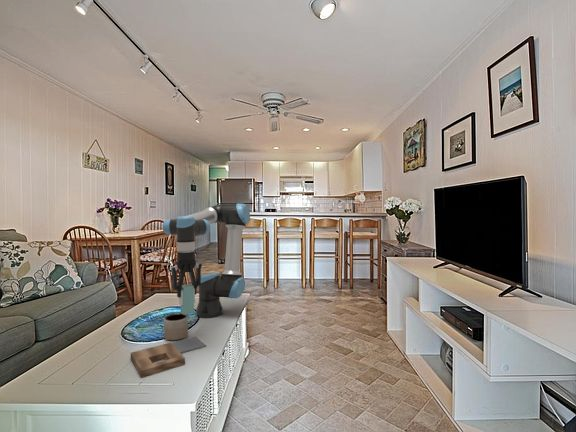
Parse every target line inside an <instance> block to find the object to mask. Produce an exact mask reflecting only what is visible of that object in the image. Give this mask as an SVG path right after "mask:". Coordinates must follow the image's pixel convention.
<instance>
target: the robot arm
mask: <svg viewBox="0 0 576 432" xmlns="http://www.w3.org/2000/svg"><path fill="white" fill-rule="evenodd" d="M250 221H251V213H250V209H249V207H248V206H247V204H245V203H239V202H237V203H220V204H219V203H218V204H214V205H211V206H208V207H206V208H204V209H203V210H202V211H198V212H195V213H192V214H188V215H182V216H181V215H180V216H177V218H175V219H174V218H173V219H172V218H170V219H169V218H168V219H165V220H164V221H163V222H162V226H161V227H162V232H163V233H164V234H165V235H170V236H176V238H177V239H176V246H177V247H176V248H177V252H176V254H177V255H176V256H177V257H176V258H177V262H176V264H175V265H174V266H170V271H171V283H172V290H174V291H176V297H177V298H179V301H178V302H179V303H178V304H179V305H183V290H182V289H181V288H182V285H183V282H184V279H185V278H184V277H185V274H186V273H188V274H189V278H190V281H191V285H193V286H194V304H195V303H196V302H195V301H196V300H195V299H196V295H197V290H198V302H197V303H198V304H197V307H196V310H195V315H196V314H197V315H199V317H198V318H203V319H204V318H205V319H209V318H216V317H219V316H221V315H222V314H223V313H224V311H223V310H224V309H223V306H222V303H221V300H220V298H226V299H227V298H229V299H238V298H240V297H241V296H243V294H244V291H245V287H246V280H245V278H244V277H243V274H242V272H240V269H241V257H242V243H243V233H244V232H243V231H244V229H245V228H246V225H247V224H249V223H250ZM212 224H225V227H226V228H227V234H226V245H225V246H226V248H225V258H224V269H223V271H222V272H221V275H220V273H219V272H210V273H205V274H201V271H202V270H201V269H202V266H203V264H202V263H200V262H199V263H197V261H196V252H195V250H196V242H195V241H196V237H198V236H205V235H207V234H208V233H209V232H210V230H211V225H212ZM194 269H195V270H194ZM177 270H179V271H178V272H177ZM194 271H195V272H194ZM177 273H179V275H178V277H177ZM197 288H198V289H197Z"/></svg>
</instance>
